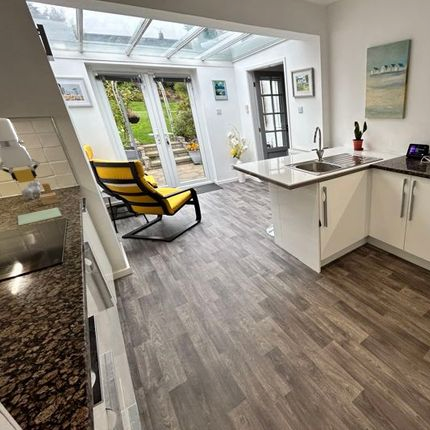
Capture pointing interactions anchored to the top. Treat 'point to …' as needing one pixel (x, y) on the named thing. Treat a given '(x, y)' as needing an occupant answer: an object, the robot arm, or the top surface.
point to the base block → (49, 198)
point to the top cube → (24, 175)
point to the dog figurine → (31, 190)
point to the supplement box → (47, 188)
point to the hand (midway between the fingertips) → (26, 179)
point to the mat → (38, 216)
